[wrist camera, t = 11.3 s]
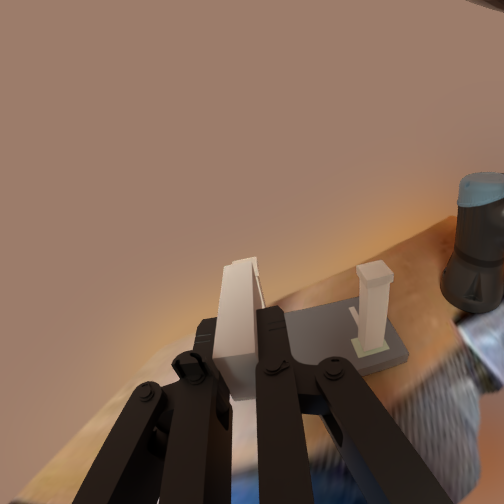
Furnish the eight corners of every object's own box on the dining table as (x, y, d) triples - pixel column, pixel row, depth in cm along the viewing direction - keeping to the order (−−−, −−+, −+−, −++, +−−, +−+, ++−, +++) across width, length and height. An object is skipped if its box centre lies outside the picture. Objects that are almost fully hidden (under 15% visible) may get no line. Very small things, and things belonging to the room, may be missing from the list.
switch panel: (371, 301, 47) (371, 292, 47) (406, 361, 33) (409, 352, 32) (236, 330, 49) (233, 321, 48) (234, 401, 35) (230, 393, 34)
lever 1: (271, 321, 46) (256, 256, 40) (272, 335, 43) (257, 268, 37) (250, 325, 46) (232, 261, 41) (250, 339, 43) (231, 273, 37)
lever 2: (376, 331, 37) (381, 259, 32) (385, 347, 34) (393, 273, 29) (355, 337, 38) (356, 265, 32) (362, 353, 34) (367, 280, 29)
